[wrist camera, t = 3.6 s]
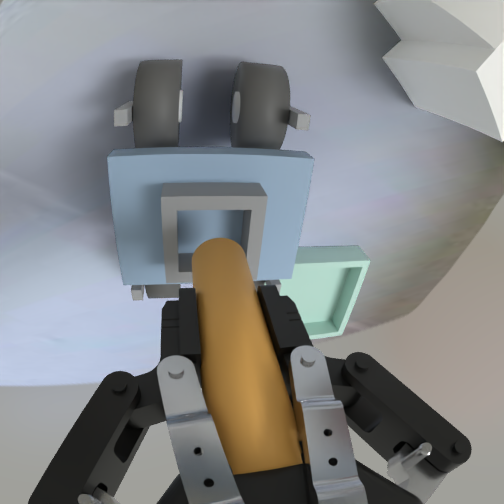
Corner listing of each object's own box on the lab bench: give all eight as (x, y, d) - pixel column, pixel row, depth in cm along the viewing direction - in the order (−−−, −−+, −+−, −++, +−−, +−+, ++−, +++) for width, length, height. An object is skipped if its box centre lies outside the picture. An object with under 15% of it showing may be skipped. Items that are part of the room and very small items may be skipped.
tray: (358, 245, 35) (370, 260, 33) (333, 319, 42) (341, 335, 39) (258, 248, 32) (265, 265, 30) (248, 327, 39) (252, 345, 37)
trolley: (280, 67, 23) (344, 72, 13) (256, 263, 34) (286, 347, 24) (135, 62, 20) (96, 59, 11) (143, 267, 31) (133, 357, 22)
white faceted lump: (415, 107, 27) (502, 142, 17) (352, 20, 21) (444, 12, 11) (464, 56, 23) (547, 77, 14) (413, -26, 18) (501, -35, 8)
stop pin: (247, 237, 16) (322, 455, 7) (243, 281, 17) (299, 481, 8) (191, 238, 15) (214, 472, 6) (192, 283, 17) (215, 493, 8)
